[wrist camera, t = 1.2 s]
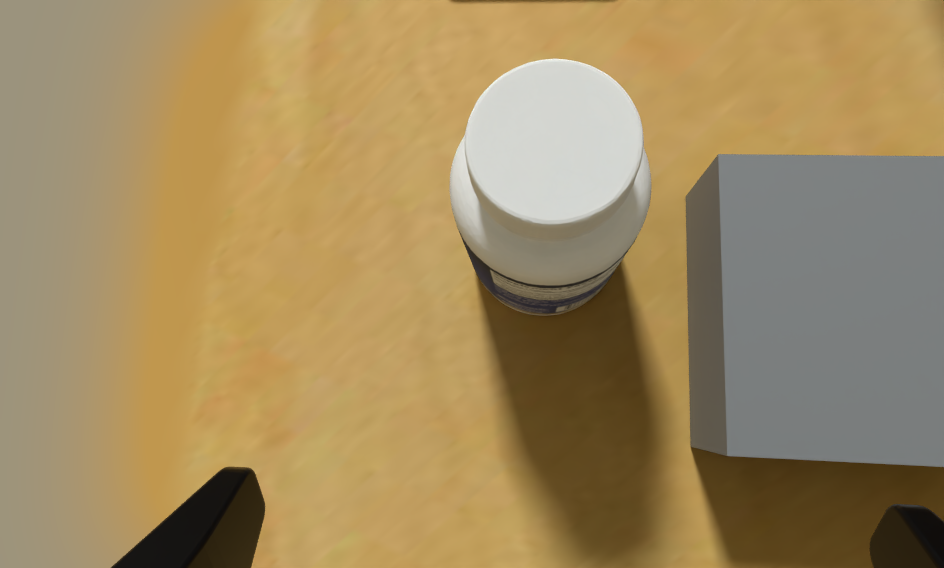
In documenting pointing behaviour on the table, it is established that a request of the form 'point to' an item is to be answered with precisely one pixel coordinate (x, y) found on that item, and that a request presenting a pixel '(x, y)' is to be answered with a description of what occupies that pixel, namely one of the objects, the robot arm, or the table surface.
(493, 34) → the table surface
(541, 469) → the table surface
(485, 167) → the pill bottle
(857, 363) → the slate block
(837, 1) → the table surface
